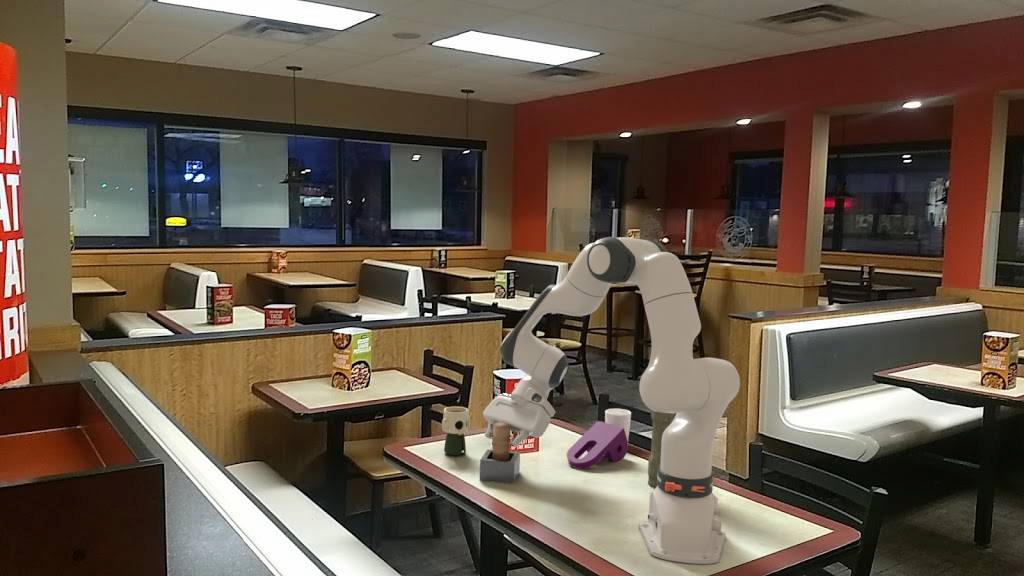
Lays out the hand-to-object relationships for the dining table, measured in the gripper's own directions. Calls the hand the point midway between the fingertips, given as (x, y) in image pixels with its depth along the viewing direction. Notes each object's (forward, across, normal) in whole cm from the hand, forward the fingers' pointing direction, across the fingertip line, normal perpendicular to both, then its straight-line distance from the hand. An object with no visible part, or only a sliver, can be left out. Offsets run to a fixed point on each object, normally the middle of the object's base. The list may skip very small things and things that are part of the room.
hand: (500, 441), depth 202 cm
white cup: (-27, +2, +41) cm, 50 cm away
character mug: (+4, -22, +9) cm, 24 cm away
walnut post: (+6, 0, +7) cm, 10 cm away
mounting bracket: (-14, +8, +28) cm, 33 cm away
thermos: (-14, +32, +28) cm, 45 cm away
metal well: (+6, 0, +7) cm, 10 cm away
